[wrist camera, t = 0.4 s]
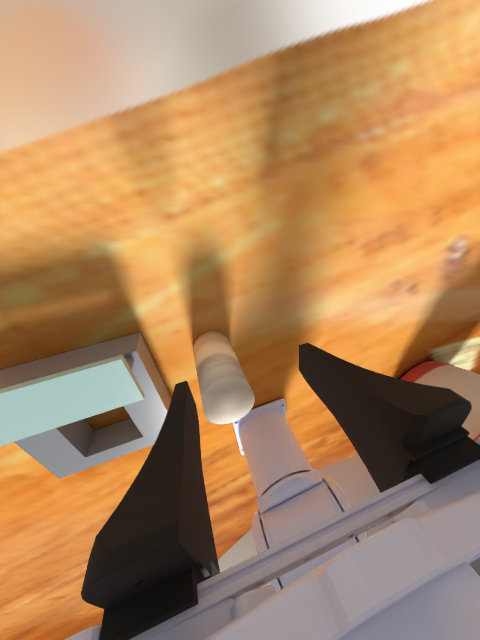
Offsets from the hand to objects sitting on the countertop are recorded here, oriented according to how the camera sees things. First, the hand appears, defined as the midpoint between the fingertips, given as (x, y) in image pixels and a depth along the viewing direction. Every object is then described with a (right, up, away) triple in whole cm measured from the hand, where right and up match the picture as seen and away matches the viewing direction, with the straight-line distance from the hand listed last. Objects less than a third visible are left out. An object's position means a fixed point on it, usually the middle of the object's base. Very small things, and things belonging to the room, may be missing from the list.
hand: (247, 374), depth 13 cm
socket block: (-15, -5, +9) cm, 18 cm away
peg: (-4, 0, +10) cm, 10 cm away
